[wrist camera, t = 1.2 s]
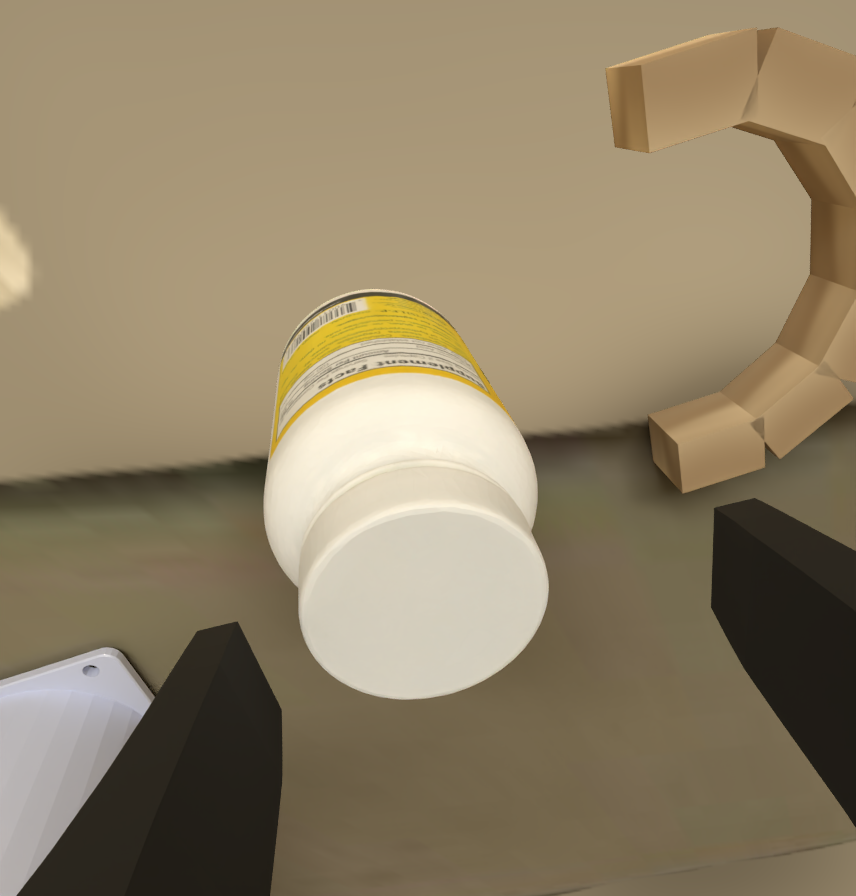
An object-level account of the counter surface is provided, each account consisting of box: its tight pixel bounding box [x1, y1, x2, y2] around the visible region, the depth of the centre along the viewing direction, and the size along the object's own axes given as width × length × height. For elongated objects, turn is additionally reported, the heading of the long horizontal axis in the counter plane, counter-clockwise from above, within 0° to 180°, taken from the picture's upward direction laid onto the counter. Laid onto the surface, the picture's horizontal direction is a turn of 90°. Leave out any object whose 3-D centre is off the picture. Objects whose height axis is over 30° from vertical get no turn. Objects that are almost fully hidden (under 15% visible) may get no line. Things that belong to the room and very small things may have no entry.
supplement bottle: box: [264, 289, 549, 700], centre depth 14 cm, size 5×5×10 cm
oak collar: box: [606, 27, 856, 493], centre depth 18 cm, size 7×12×2 cm, turn 16°
